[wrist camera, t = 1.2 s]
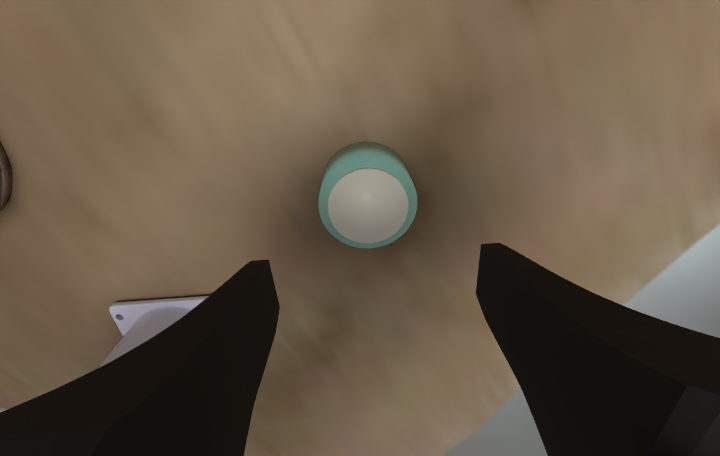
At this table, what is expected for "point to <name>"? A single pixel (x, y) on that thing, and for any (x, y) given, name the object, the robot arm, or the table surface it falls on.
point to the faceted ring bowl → (4, 178)
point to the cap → (367, 196)
